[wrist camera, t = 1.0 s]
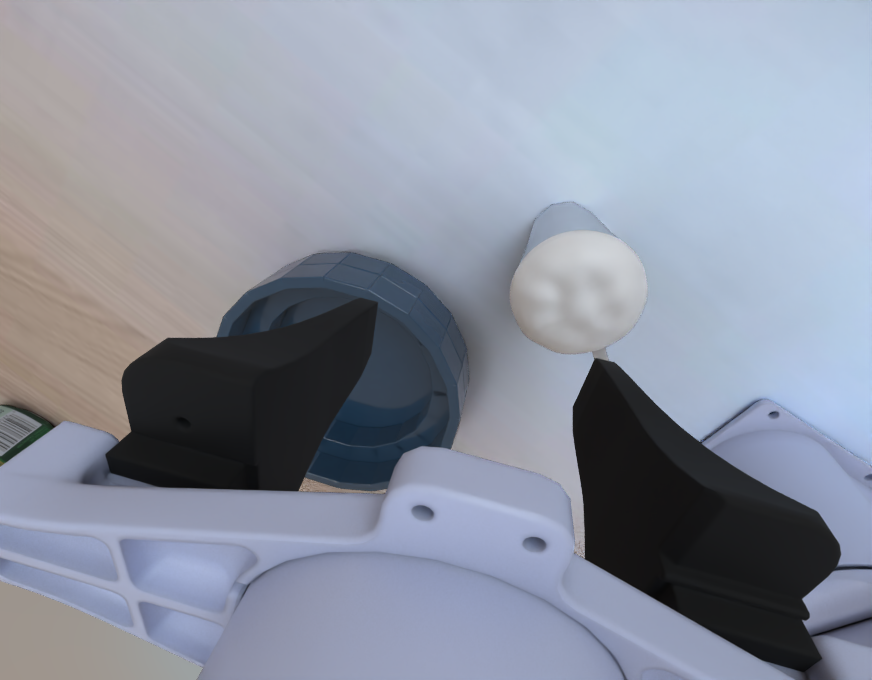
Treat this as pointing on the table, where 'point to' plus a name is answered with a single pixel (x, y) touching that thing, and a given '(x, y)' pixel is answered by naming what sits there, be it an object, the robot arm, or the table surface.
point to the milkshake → (577, 283)
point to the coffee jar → (19, 431)
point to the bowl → (371, 362)
